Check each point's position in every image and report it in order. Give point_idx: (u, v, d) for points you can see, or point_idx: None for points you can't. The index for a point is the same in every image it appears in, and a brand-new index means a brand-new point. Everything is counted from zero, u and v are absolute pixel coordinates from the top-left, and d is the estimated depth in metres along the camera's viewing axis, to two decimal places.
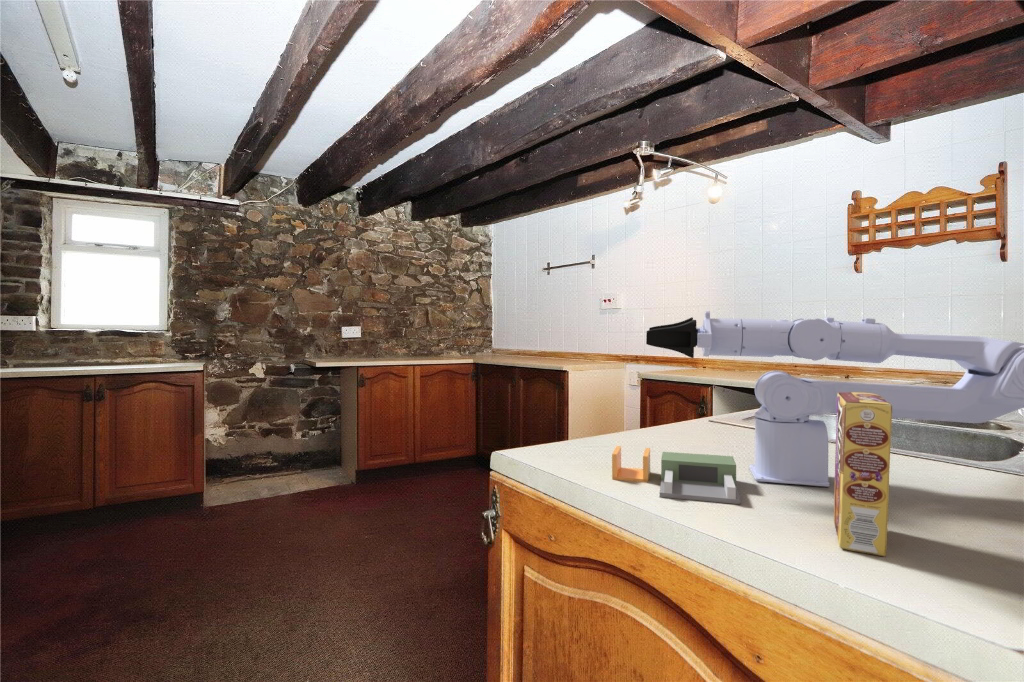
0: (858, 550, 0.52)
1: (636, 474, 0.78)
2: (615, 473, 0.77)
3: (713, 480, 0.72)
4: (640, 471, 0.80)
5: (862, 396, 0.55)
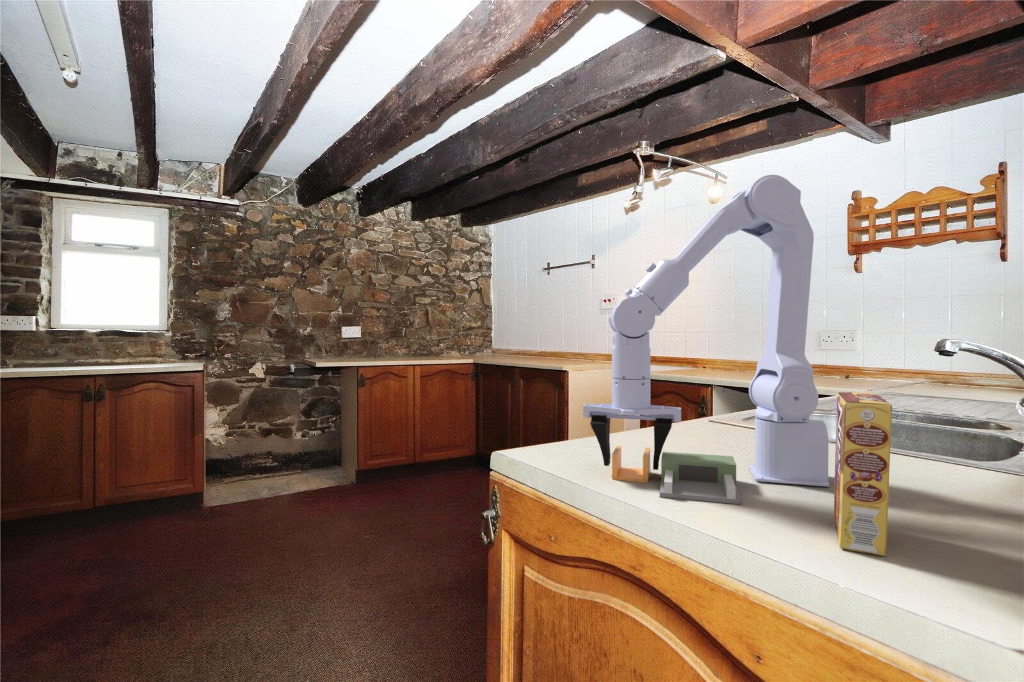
0: (858, 550, 0.52)
1: (636, 474, 0.78)
2: (615, 473, 0.77)
3: (713, 480, 0.72)
4: (640, 471, 0.80)
5: (862, 396, 0.55)
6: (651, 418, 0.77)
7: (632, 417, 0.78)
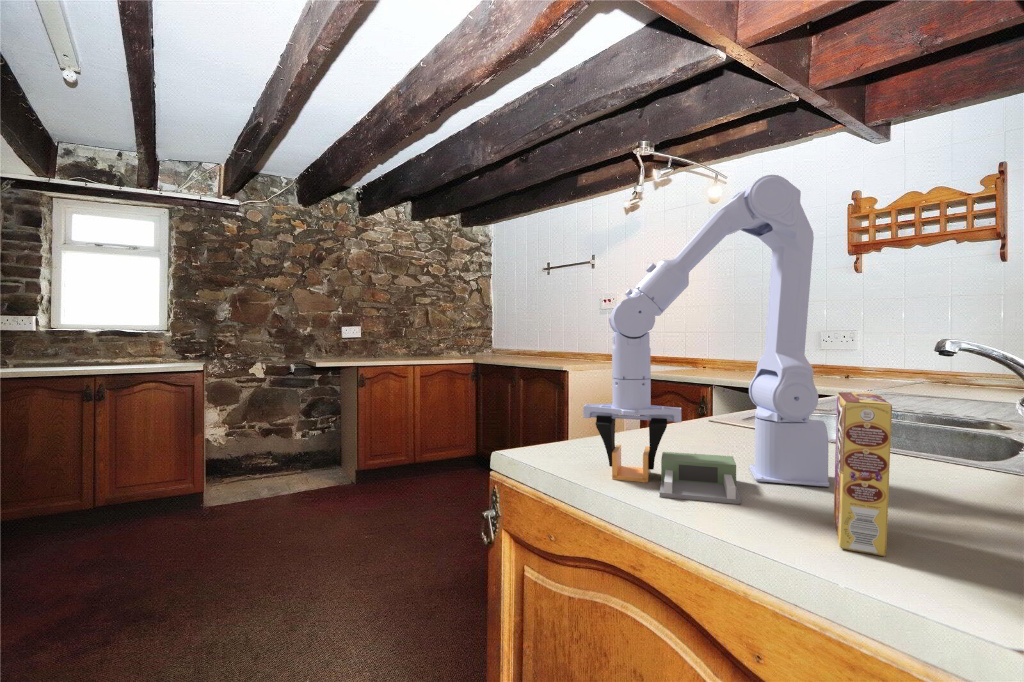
0: (858, 550, 0.52)
1: (636, 473, 0.78)
2: (615, 472, 0.77)
3: (713, 480, 0.72)
4: (640, 470, 0.80)
5: (862, 396, 0.55)
6: None
7: (632, 417, 0.78)
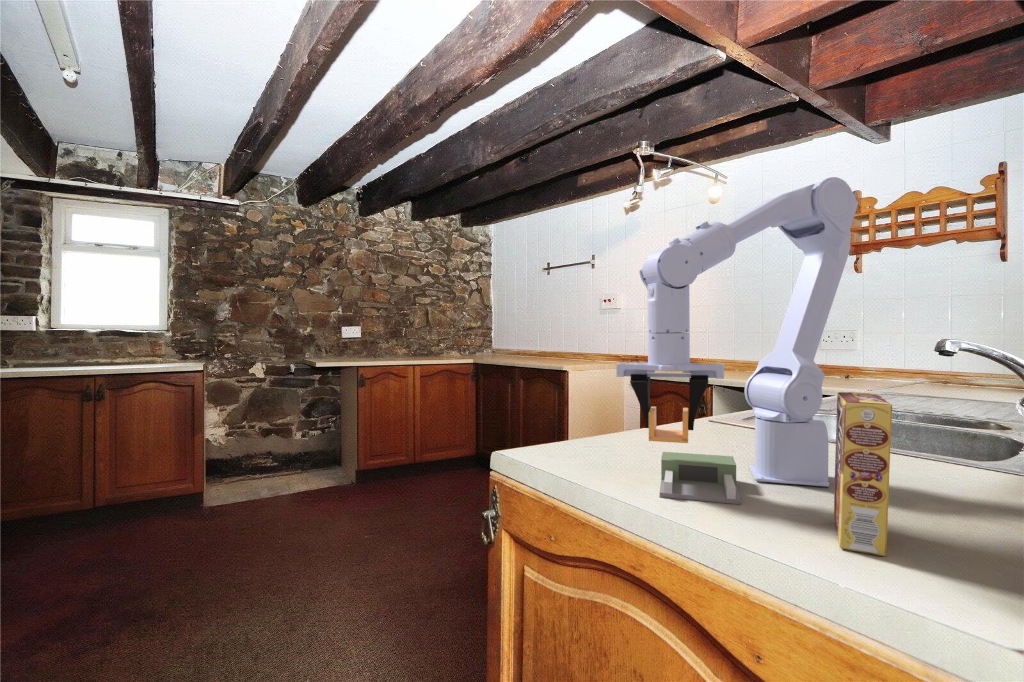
0: (858, 550, 0.52)
1: (674, 435, 0.73)
2: (652, 433, 0.72)
3: (713, 480, 0.72)
4: (678, 432, 0.74)
5: (862, 396, 0.55)
6: (691, 375, 0.72)
7: (670, 375, 0.73)
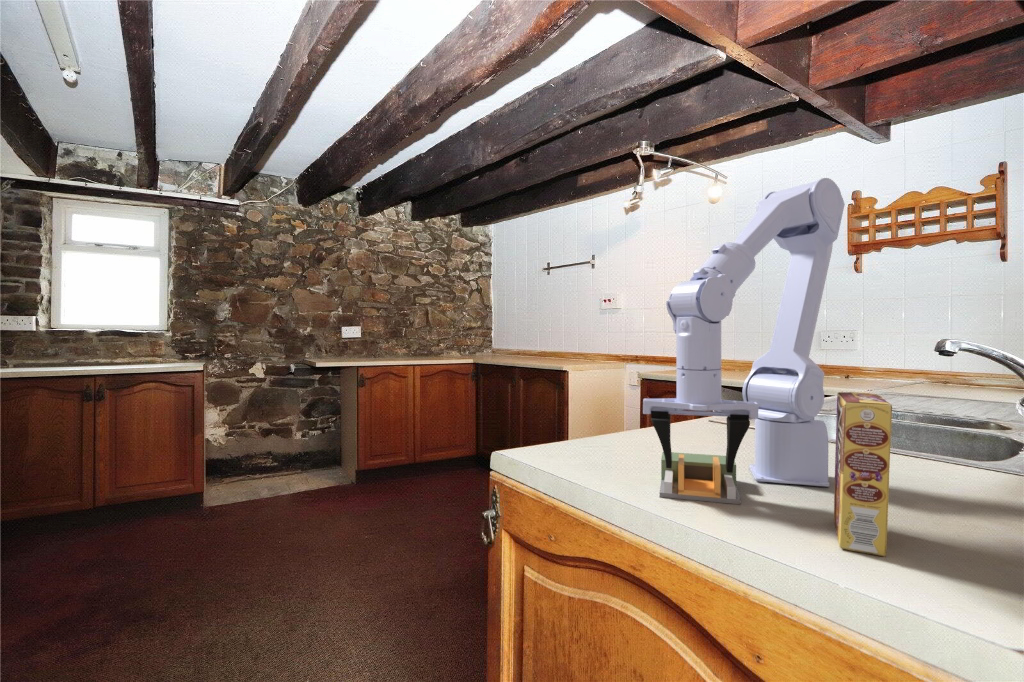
0: (858, 550, 0.52)
1: (704, 487, 0.69)
2: (682, 486, 0.68)
3: None
4: (708, 483, 0.71)
5: (862, 396, 0.55)
6: (722, 414, 0.68)
7: (700, 413, 0.69)
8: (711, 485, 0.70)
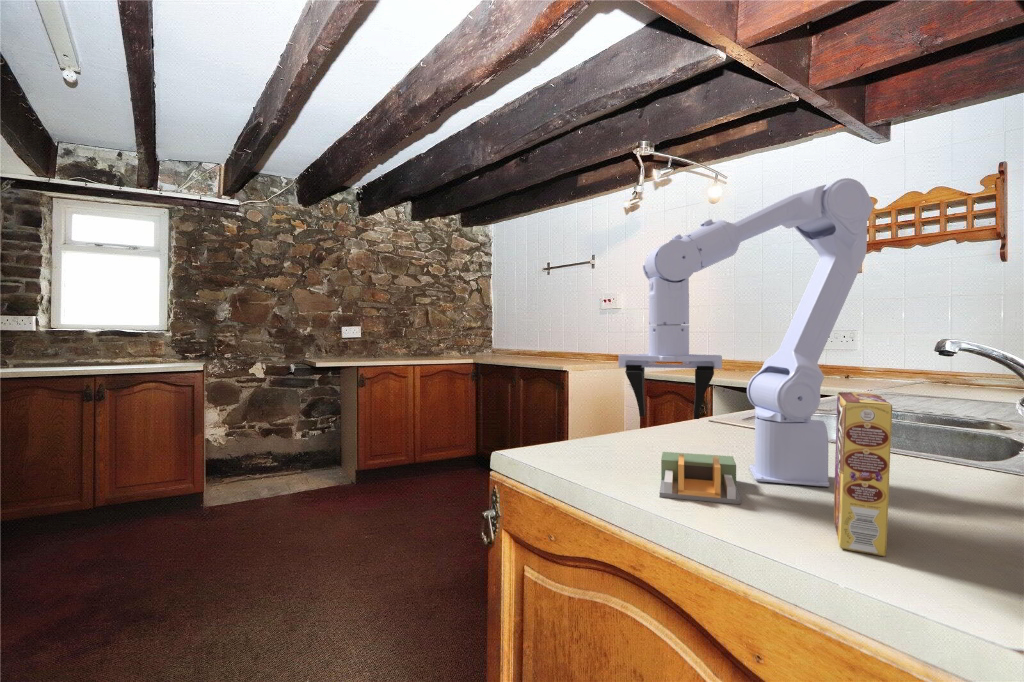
0: (858, 550, 0.52)
1: (704, 487, 0.69)
2: (682, 486, 0.68)
3: None
4: (708, 483, 0.71)
5: (862, 396, 0.55)
6: (690, 366, 0.75)
7: (670, 365, 0.76)
8: (711, 485, 0.70)
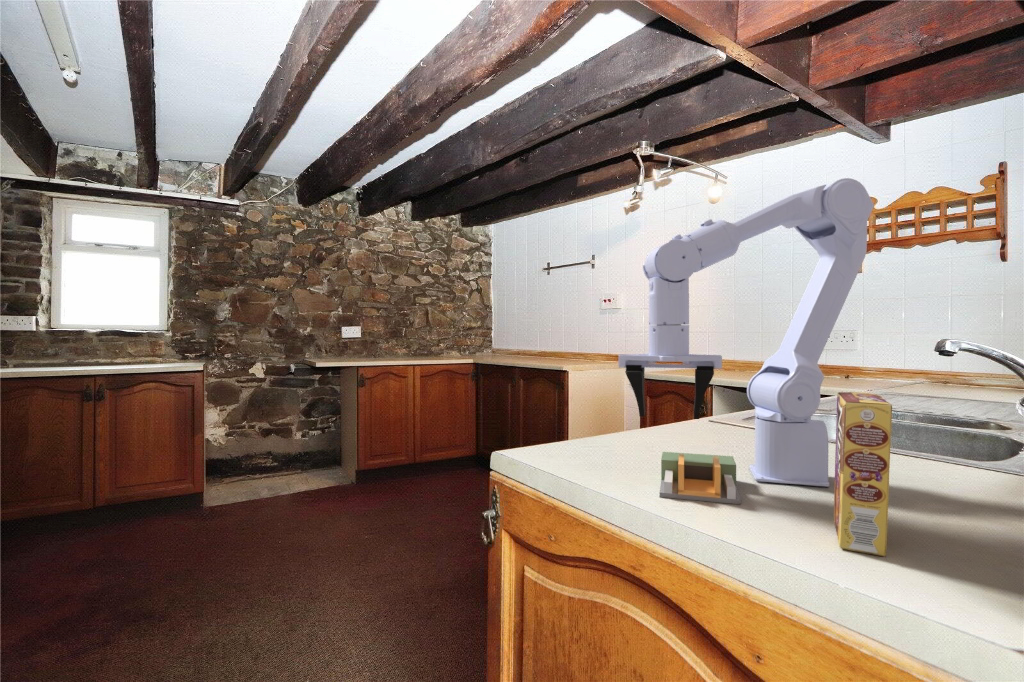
0: (858, 550, 0.52)
1: (704, 487, 0.69)
2: (682, 486, 0.68)
3: None
4: (708, 483, 0.71)
5: (862, 396, 0.55)
6: (690, 366, 0.75)
7: (670, 365, 0.76)
8: (711, 485, 0.70)
